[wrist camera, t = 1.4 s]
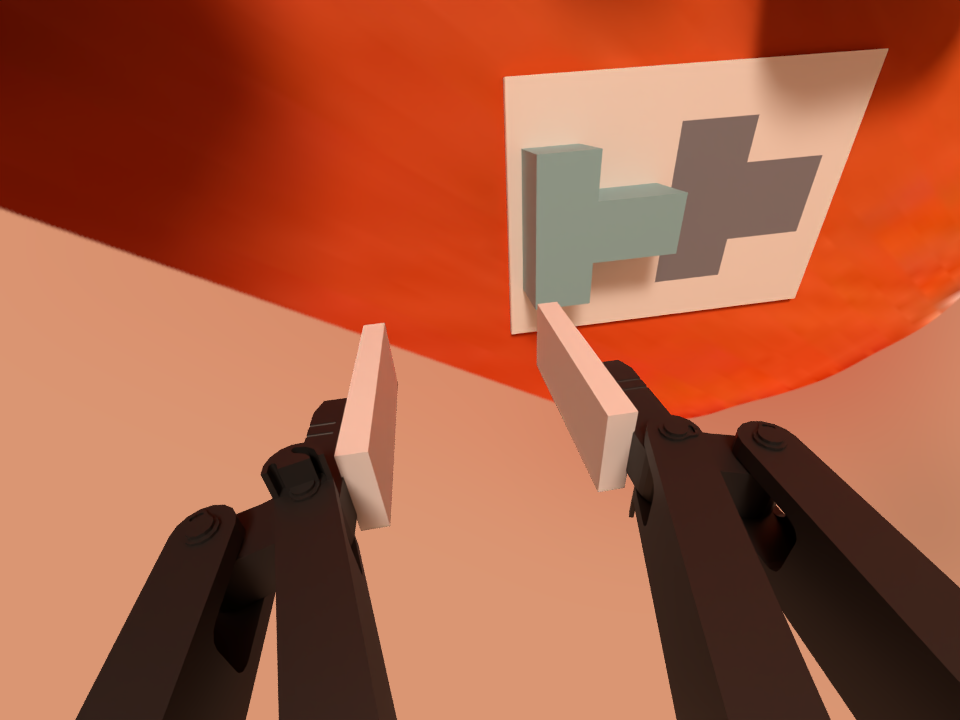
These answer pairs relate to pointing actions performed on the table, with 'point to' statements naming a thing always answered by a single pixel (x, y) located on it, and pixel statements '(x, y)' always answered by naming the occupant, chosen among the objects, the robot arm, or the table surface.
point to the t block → (586, 222)
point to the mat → (698, 170)
